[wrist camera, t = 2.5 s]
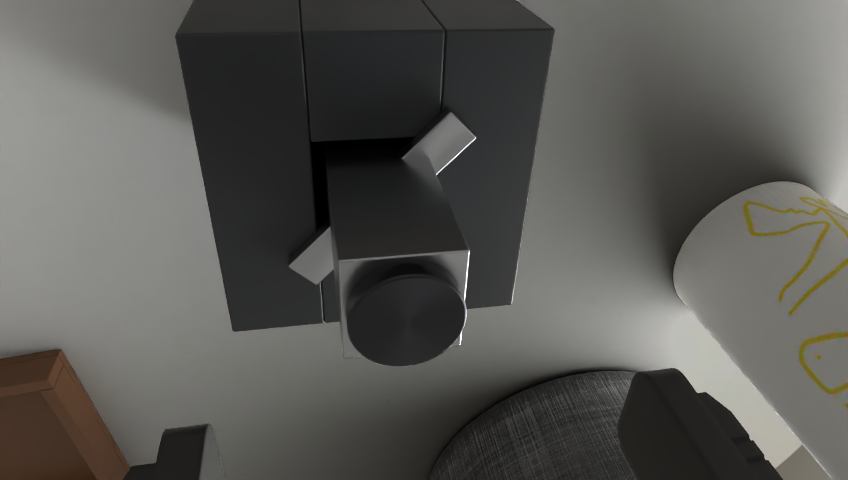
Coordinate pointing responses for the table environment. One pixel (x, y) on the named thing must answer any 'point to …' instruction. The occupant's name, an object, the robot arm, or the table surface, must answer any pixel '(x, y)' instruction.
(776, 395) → the white patterned cylinder
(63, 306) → the table surface
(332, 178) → the grey square bar
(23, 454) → the tray
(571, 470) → the planter
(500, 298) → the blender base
